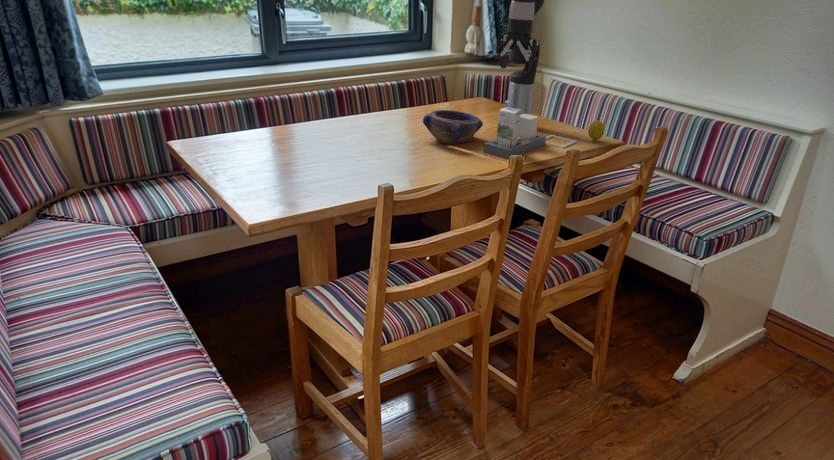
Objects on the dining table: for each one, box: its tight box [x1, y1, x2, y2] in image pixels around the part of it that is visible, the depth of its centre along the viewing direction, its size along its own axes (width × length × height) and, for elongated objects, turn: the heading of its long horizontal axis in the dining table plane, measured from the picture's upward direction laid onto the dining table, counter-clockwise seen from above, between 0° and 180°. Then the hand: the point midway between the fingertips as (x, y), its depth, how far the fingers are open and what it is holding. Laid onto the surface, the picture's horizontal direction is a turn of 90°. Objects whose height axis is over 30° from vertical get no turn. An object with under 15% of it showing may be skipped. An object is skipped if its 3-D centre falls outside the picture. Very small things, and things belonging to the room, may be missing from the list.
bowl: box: [422, 109, 484, 146], centre depth 216 cm, size 18×18×10 cm
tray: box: [545, 134, 578, 149], centre depth 220 cm, size 10×10×2 cm
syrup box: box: [495, 106, 521, 148], centre depth 204 cm, size 6×6×14 cm
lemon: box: [587, 119, 605, 142], centre depth 225 cm, size 6×6×8 cm
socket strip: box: [482, 133, 547, 163], centre depth 210 cm, size 10×24×5 cm, turn 140°
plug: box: [518, 114, 539, 141], centre depth 213 cm, size 6×6×10 cm
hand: (514, 70), depth 195 cm, fingers open, 8 cm apart
